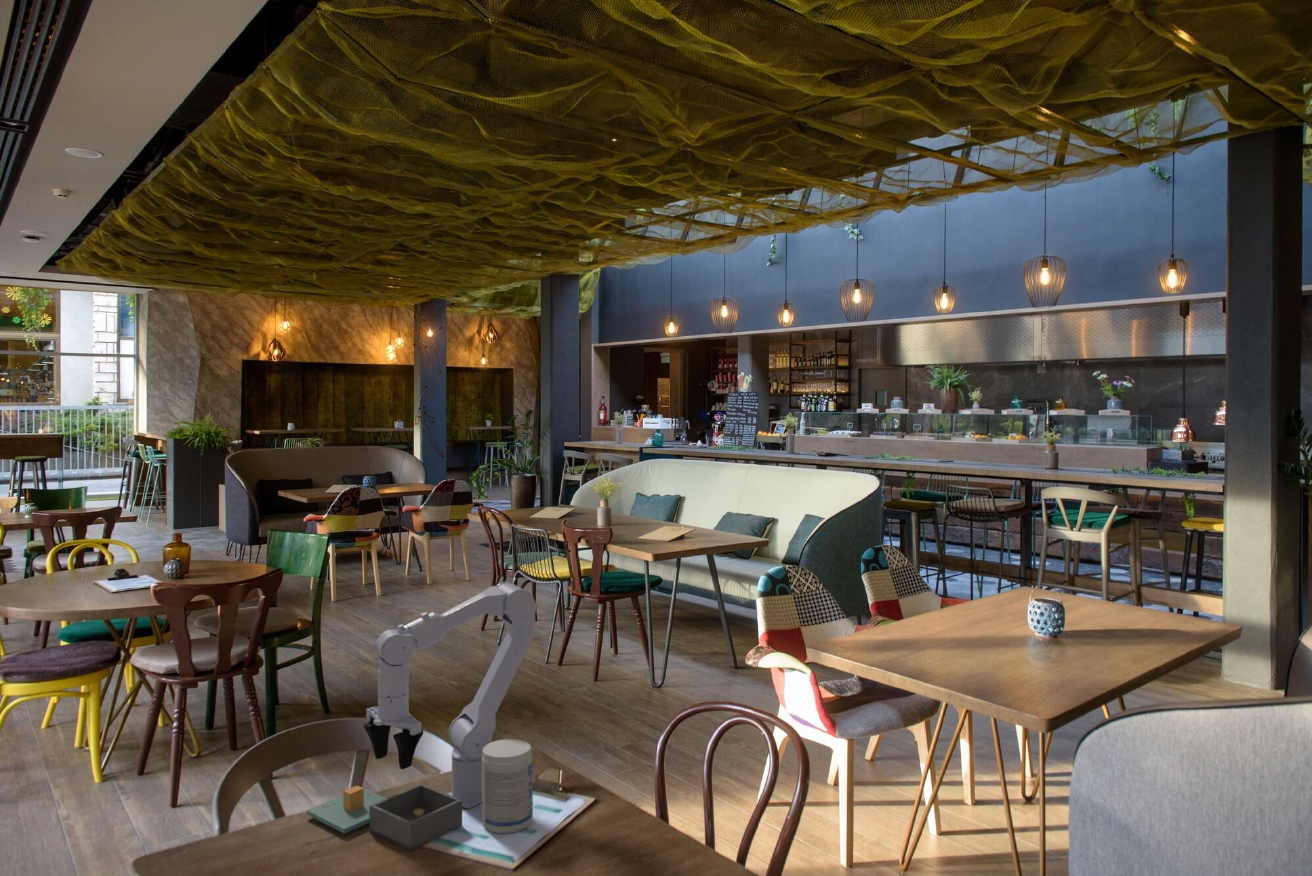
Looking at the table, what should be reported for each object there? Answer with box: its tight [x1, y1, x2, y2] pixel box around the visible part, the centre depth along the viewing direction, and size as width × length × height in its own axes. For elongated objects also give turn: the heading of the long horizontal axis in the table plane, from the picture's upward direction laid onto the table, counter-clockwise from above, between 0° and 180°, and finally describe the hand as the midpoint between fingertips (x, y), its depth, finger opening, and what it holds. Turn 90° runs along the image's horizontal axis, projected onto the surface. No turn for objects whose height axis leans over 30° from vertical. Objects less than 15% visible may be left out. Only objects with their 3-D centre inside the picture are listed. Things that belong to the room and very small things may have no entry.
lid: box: [306, 785, 387, 834], centre depth 168 cm, size 12×12×5 cm
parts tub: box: [368, 783, 463, 853], centre depth 163 cm, size 12×12×5 cm
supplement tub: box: [481, 738, 534, 834], centre depth 165 cm, size 10×10×15 cm
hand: (393, 762), depth 168 cm, fingers open, 7 cm apart
